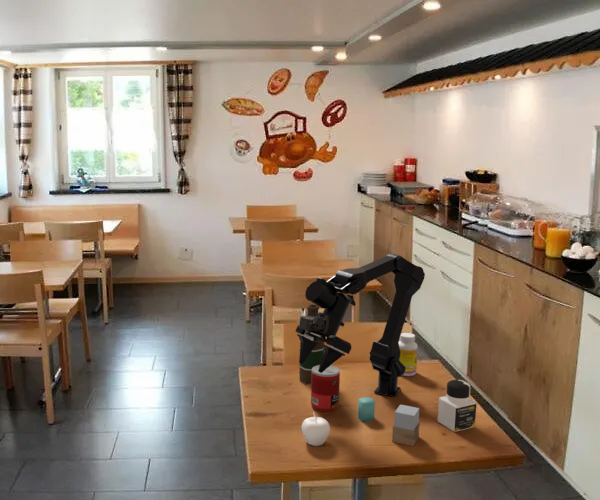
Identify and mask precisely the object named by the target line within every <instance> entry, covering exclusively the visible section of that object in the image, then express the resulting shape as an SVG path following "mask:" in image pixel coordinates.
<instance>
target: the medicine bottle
mask: <svg viewBox="0 0 600 500" xmlns="http://www.w3.org/2000/svg"><path fill="white" fill-rule="evenodd" d="M470 396H471V385H470V383H469V382H467V381H466V380H462V379H451V380H449V381H448V382H447V383H446V395H443V396H439V398H438V409H437V422H438V423H440V424H441V425H442V426H444V427H445V428H447V429H449V430H450V431H451V432H453V433H457V432H462V431H464V430H468V429H472V428H475V427H476V415H477V401H475V400H473V399H471V398H470Z"/></svg>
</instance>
